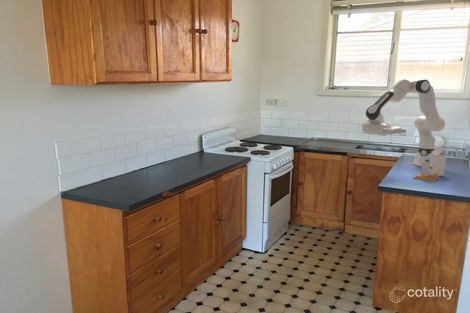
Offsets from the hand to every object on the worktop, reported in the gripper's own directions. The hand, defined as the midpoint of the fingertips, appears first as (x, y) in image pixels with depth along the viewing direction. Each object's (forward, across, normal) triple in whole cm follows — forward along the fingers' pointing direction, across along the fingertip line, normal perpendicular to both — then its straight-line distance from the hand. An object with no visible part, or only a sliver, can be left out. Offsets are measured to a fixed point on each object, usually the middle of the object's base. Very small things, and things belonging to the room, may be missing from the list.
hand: (403, 131), depth 273 cm
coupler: (+19, -4, +30) cm, 36 cm away
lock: (+19, -5, +29) cm, 35 cm away
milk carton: (+21, +12, +30) cm, 39 cm away
